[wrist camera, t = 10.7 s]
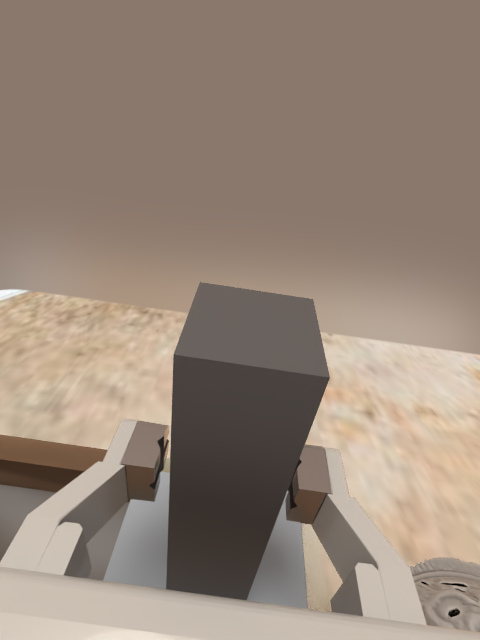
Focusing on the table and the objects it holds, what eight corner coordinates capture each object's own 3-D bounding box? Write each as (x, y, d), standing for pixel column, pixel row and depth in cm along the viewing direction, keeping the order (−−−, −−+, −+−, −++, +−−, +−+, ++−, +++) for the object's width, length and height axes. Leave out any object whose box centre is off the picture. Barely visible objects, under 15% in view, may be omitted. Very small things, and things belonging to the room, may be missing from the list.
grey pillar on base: (143, 519, 20) (130, 241, 11) (279, 538, 20) (385, 279, 11) (92, 694, 14) (-36, 419, 5) (283, 719, 14) (521, 498, 5)
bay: (-38, 457, 22) (-60, 415, 20) (291, 504, 23) (306, 468, 20) (-288, 754, 12) (-386, 736, 10) (309, 831, 13) (342, 829, 10)
